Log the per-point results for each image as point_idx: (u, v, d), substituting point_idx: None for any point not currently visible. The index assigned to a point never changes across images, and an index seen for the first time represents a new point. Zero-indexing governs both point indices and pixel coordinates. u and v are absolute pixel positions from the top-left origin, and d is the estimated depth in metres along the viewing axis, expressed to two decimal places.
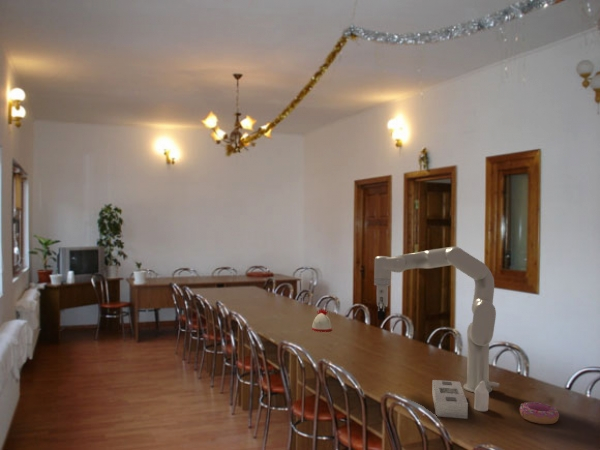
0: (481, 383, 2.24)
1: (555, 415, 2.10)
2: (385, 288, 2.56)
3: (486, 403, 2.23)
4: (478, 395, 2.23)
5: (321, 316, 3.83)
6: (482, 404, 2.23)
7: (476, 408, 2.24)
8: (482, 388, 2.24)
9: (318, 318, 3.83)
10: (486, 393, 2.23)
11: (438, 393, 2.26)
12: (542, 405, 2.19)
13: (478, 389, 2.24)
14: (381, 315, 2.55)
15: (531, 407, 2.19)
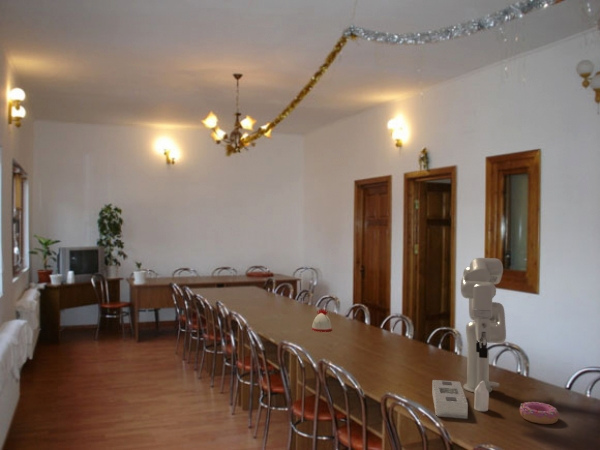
0: (481, 383, 2.24)
1: (555, 415, 2.10)
2: (488, 321, 2.21)
3: (486, 403, 2.23)
4: (478, 395, 2.23)
5: (321, 316, 3.83)
6: (482, 404, 2.23)
7: (476, 408, 2.24)
8: (482, 388, 2.24)
9: (318, 318, 3.83)
10: (486, 393, 2.23)
11: (438, 393, 2.26)
12: (542, 405, 2.19)
13: (478, 389, 2.24)
14: (484, 353, 2.20)
15: (531, 407, 2.19)
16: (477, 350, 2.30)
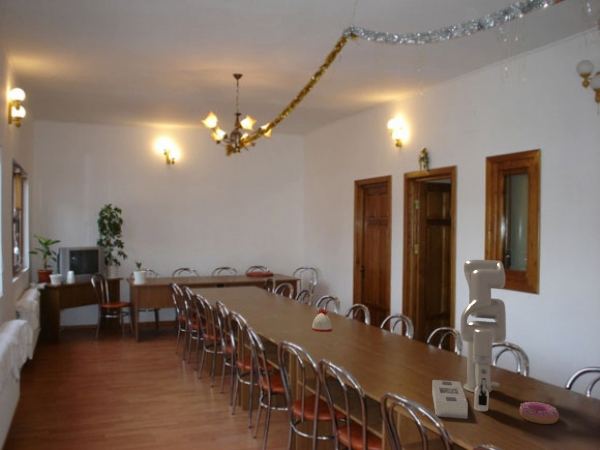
0: None
1: (555, 415, 2.10)
2: (488, 368, 2.21)
3: None
4: (478, 395, 2.23)
5: (321, 316, 3.83)
6: None
7: (476, 408, 2.24)
8: None
9: (318, 318, 3.83)
10: None
11: (438, 393, 2.26)
12: (542, 405, 2.19)
13: (478, 389, 2.24)
14: (483, 400, 2.21)
15: (531, 407, 2.19)
16: None
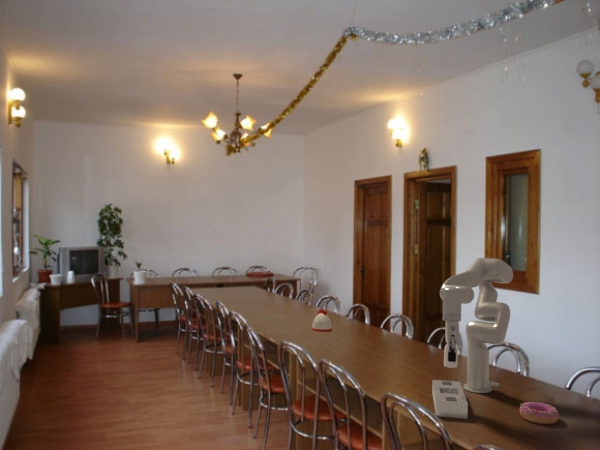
0: None
1: (555, 415, 2.10)
2: (457, 324, 2.25)
3: None
4: (447, 352, 2.27)
5: (321, 316, 3.83)
6: None
7: (446, 365, 2.28)
8: None
9: (318, 318, 3.83)
10: None
11: (438, 393, 2.26)
12: (542, 405, 2.19)
13: (447, 346, 2.28)
14: (452, 357, 2.25)
15: (531, 407, 2.19)
16: None
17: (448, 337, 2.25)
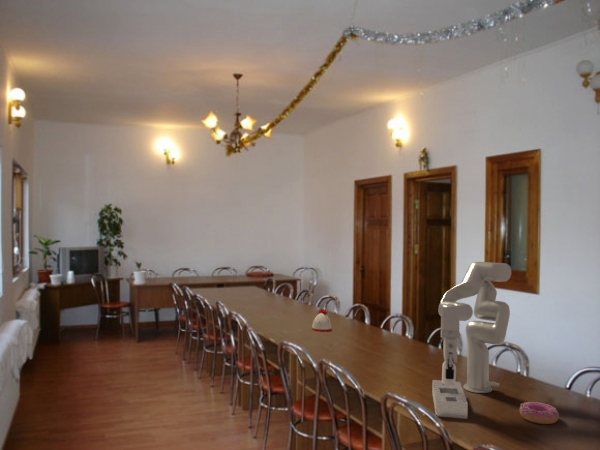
0: None
1: (555, 415, 2.10)
2: (455, 342, 2.25)
3: None
4: (445, 369, 2.28)
5: (321, 316, 3.83)
6: None
7: (443, 382, 2.28)
8: None
9: (318, 318, 3.83)
10: None
11: (438, 393, 2.26)
12: (542, 405, 2.19)
13: (445, 363, 2.28)
14: (450, 374, 2.25)
15: (531, 407, 2.19)
16: None
17: (446, 354, 2.25)
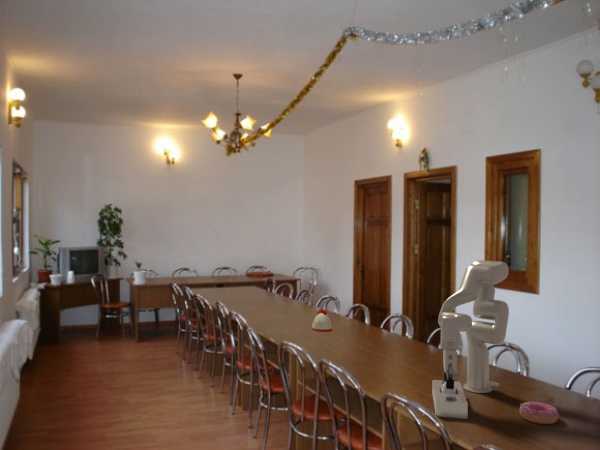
0: None
1: (555, 415, 2.10)
2: (454, 353, 2.25)
3: None
4: (445, 391, 2.28)
5: (321, 316, 3.83)
6: None
7: None
8: None
9: (318, 318, 3.83)
10: (453, 389, 2.28)
11: (438, 393, 2.26)
12: (542, 405, 2.19)
13: (445, 385, 2.28)
14: (450, 384, 2.24)
15: (531, 407, 2.19)
16: (445, 380, 2.34)
17: (446, 366, 2.25)
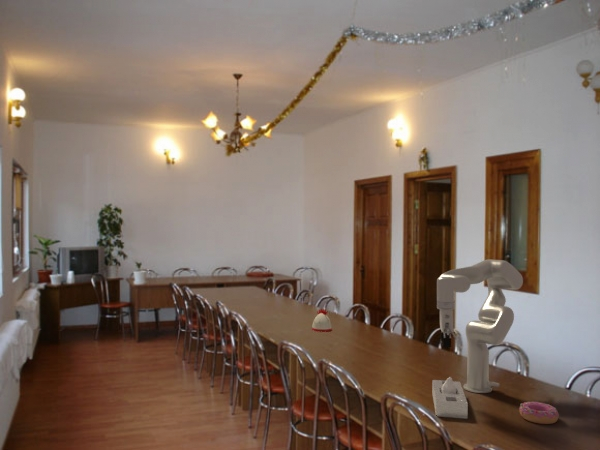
0: (448, 379, 2.29)
1: (555, 415, 2.10)
2: (451, 312, 2.32)
3: None
4: (445, 391, 2.28)
5: (321, 316, 3.83)
6: None
7: None
8: (448, 384, 2.28)
9: (318, 318, 3.83)
10: (453, 389, 2.27)
11: (438, 393, 2.26)
12: (542, 405, 2.19)
13: (445, 385, 2.28)
14: (447, 342, 2.31)
15: (531, 407, 2.19)
16: (442, 339, 2.42)
17: (443, 325, 2.32)
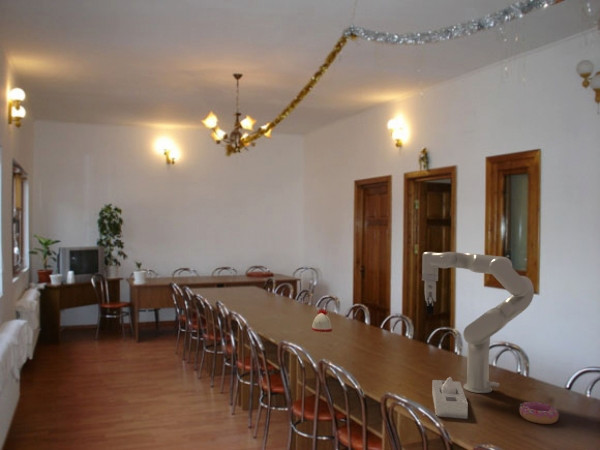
0: (448, 379, 2.29)
1: (555, 415, 2.10)
2: (434, 283, 2.60)
3: None
4: (445, 391, 2.28)
5: (321, 316, 3.83)
6: None
7: None
8: (448, 384, 2.28)
9: (318, 318, 3.83)
10: (453, 389, 2.28)
11: (438, 393, 2.26)
12: (542, 405, 2.19)
13: (445, 385, 2.28)
14: (430, 310, 2.59)
15: (531, 407, 2.19)
16: (426, 309, 2.69)
17: (426, 294, 2.60)
